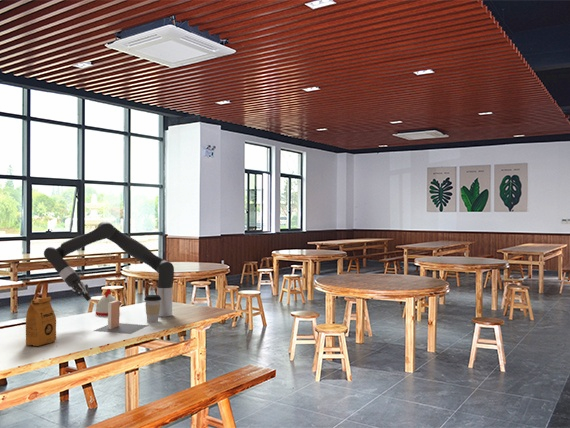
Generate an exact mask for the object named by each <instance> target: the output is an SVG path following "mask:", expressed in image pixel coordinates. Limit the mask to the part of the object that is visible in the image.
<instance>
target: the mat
mask: <svg viewBox="0 0 570 428" xmlns="http://www.w3.org/2000/svg"><path fill="white" fill-rule="evenodd" d="M147 327H149V324H137V323H136V324H135V323H134V324H133V323H123V322H121V323H120V322H119V326H117V327H115V328H113V329H108V324H106V325H104V326H101V327H99V328H97V329H94V330H93V332H99V333H101V332H102V333H114V334H127V335H131V334H134V333H136V332H138V331H141V330H143V329H144V328H147Z"/></svg>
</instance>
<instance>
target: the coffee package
mask: <svg viewBox="0 0 570 428" xmlns="http://www.w3.org/2000/svg"><path fill="white" fill-rule="evenodd" d="M51 300H52V296H46V297H42V298H37V299H32V300H30V301H31V302H30V303H29V306H28V308H27V312H26V317H25V345H26V346H31V345H33V347H40V346H44V345H49V344H51V343H55V342H56V340H57V318H56V314H55V310H54V308H53V307H52V302H51Z"/></svg>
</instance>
